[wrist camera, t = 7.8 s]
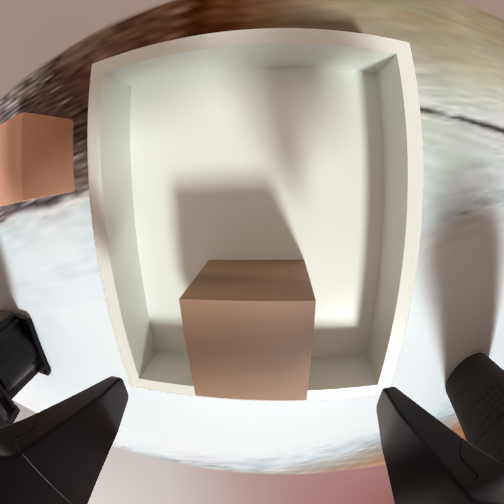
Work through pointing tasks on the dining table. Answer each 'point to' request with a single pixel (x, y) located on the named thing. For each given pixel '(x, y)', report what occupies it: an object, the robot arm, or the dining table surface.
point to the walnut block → (250, 329)
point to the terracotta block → (35, 157)
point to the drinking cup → (479, 403)
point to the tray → (259, 190)
